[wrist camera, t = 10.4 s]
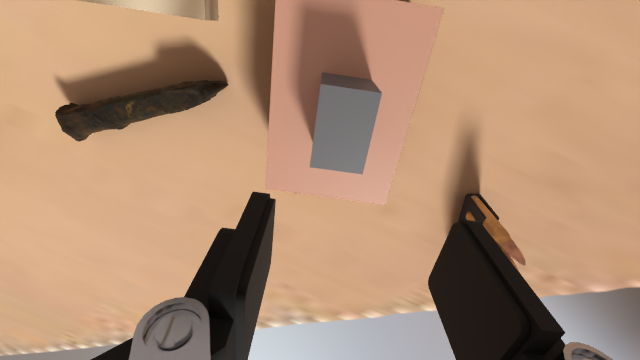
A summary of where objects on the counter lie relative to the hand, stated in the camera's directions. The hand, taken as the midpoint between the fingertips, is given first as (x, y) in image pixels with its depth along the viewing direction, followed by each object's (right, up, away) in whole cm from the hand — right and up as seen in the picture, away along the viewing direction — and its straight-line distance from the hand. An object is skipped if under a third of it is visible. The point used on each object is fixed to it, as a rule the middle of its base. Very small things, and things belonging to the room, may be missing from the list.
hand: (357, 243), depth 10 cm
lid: (+1, +9, +16) cm, 19 cm away
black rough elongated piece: (-21, +12, +24) cm, 34 cm away
